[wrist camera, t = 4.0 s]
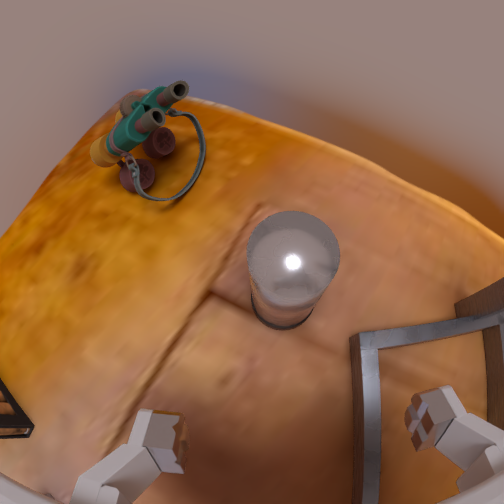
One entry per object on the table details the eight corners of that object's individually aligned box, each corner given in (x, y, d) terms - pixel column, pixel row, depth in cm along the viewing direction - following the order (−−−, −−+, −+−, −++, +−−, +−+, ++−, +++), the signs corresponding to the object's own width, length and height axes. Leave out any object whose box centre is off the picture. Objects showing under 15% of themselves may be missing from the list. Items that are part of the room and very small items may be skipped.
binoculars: (189, 150, 31) (126, 88, 25) (254, 131, 26) (183, 46, 19) (147, 221, 28) (68, 158, 21) (211, 216, 22) (109, 125, 15)
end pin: (310, 269, 23) (334, 208, 15) (315, 328, 21) (347, 296, 13) (250, 271, 23) (243, 210, 15) (252, 331, 22) (245, 301, 13)
